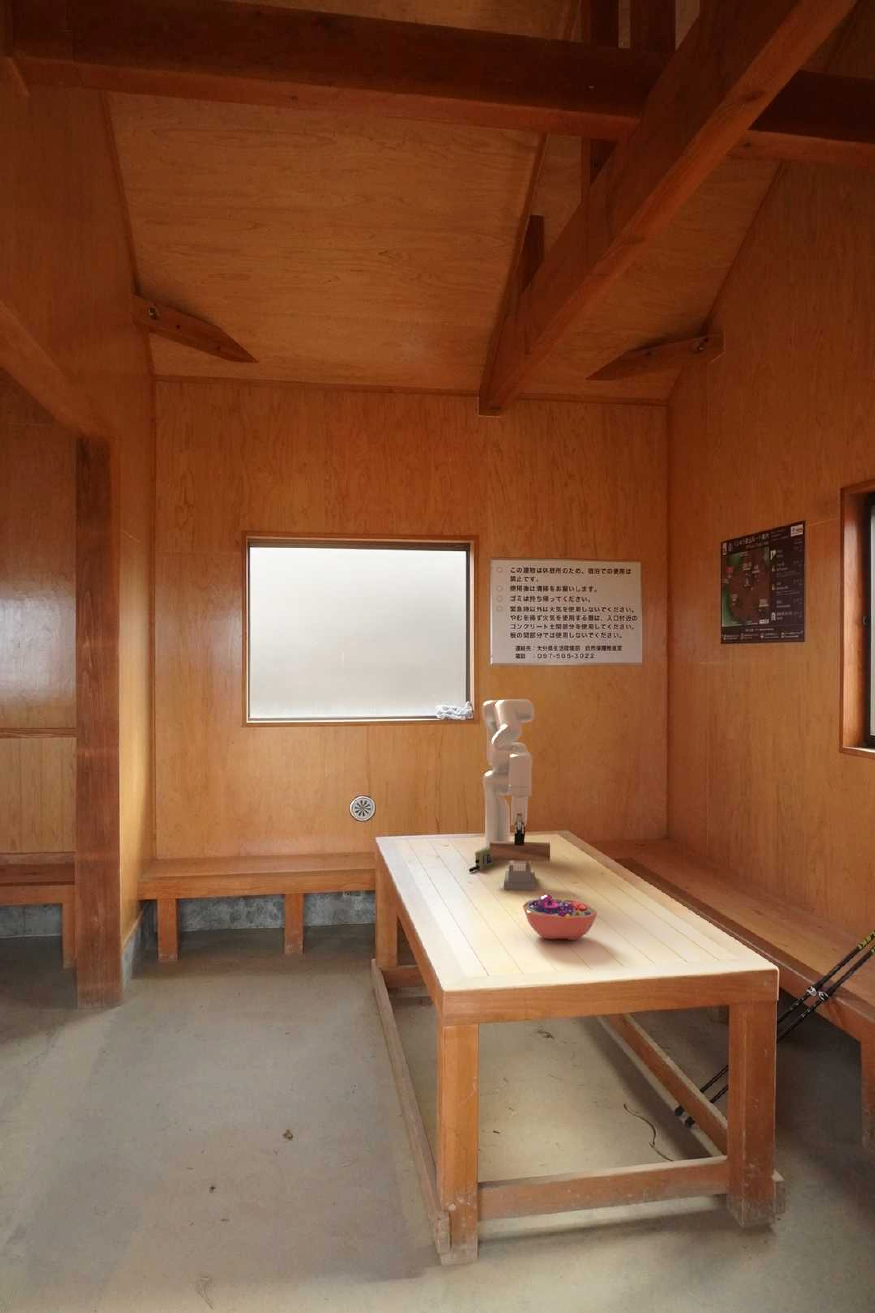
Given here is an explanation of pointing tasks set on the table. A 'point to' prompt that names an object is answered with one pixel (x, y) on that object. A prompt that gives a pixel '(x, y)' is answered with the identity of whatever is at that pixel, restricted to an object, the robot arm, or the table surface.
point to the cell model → (559, 917)
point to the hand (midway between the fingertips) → (519, 841)
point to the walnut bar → (520, 851)
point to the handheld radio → (483, 859)
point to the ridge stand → (519, 876)
